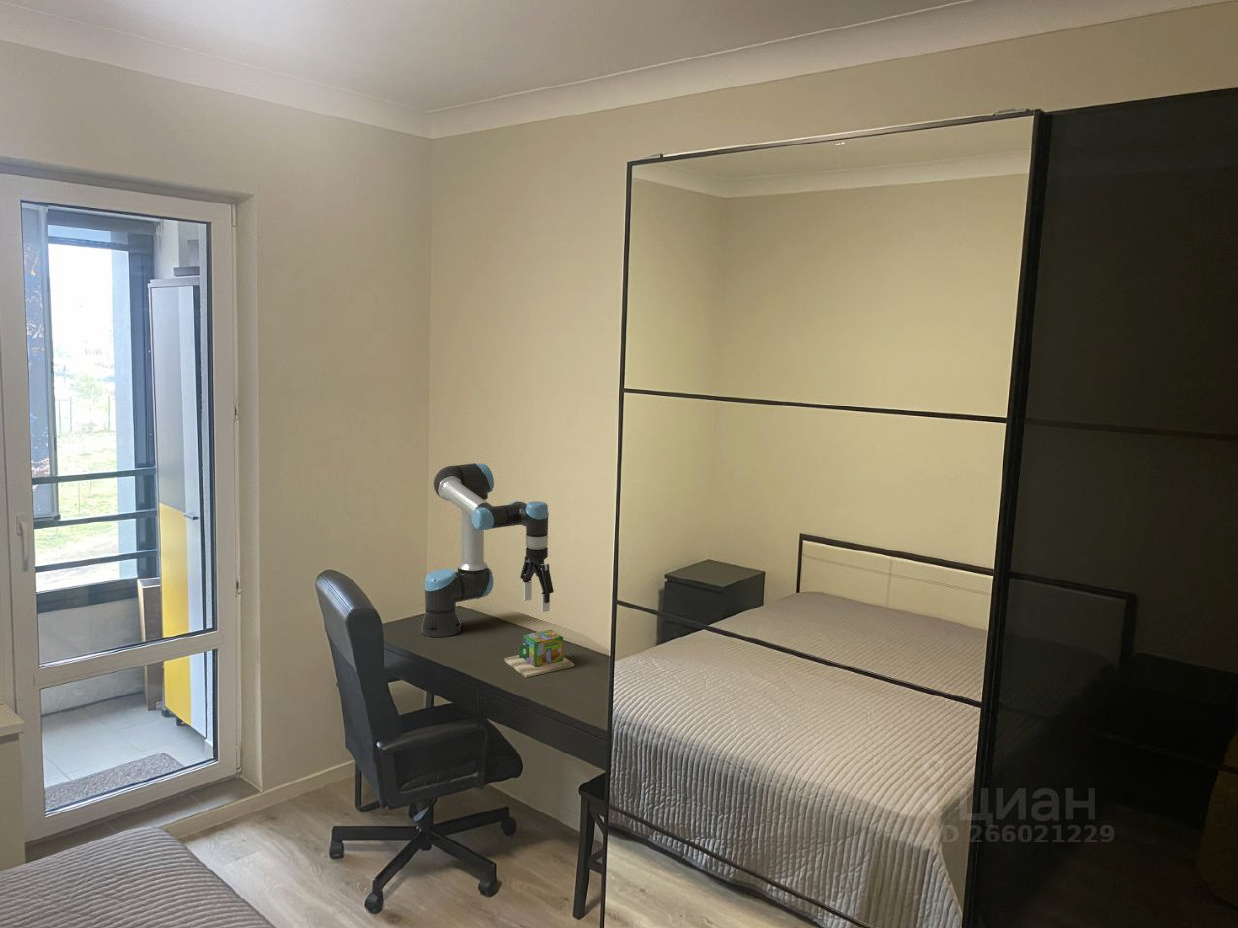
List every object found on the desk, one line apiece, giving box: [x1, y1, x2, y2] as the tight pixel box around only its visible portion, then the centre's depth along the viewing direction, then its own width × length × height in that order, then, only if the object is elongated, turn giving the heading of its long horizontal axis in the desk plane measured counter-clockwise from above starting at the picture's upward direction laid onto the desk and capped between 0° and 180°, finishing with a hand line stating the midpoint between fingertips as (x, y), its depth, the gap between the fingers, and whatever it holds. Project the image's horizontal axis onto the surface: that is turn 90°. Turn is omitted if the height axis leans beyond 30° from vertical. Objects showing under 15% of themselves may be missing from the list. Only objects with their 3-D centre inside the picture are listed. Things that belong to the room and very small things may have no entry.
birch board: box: [503, 654, 575, 678], centre depth 310 cm, size 17×19×1 cm
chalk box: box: [518, 629, 564, 667], centre depth 310 cm, size 9×9×15 cm
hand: (536, 605), depth 307 cm, fingers open, 13 cm apart
